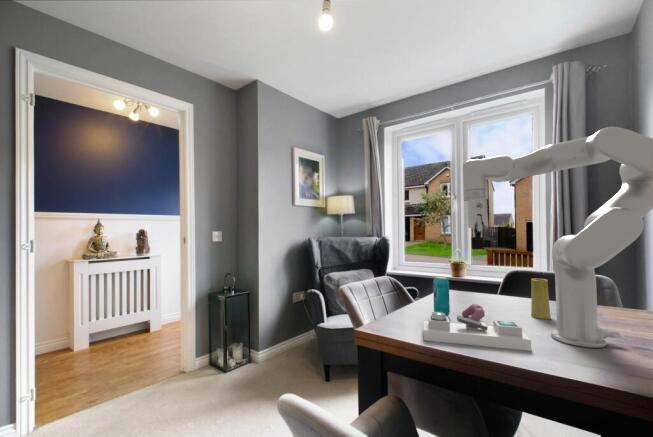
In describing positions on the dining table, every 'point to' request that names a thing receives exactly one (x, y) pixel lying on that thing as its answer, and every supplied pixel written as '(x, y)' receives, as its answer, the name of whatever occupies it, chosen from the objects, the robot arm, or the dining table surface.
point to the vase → (540, 299)
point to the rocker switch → (472, 322)
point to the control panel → (477, 334)
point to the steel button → (438, 316)
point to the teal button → (506, 324)
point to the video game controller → (474, 312)
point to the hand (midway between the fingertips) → (477, 249)
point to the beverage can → (441, 295)
